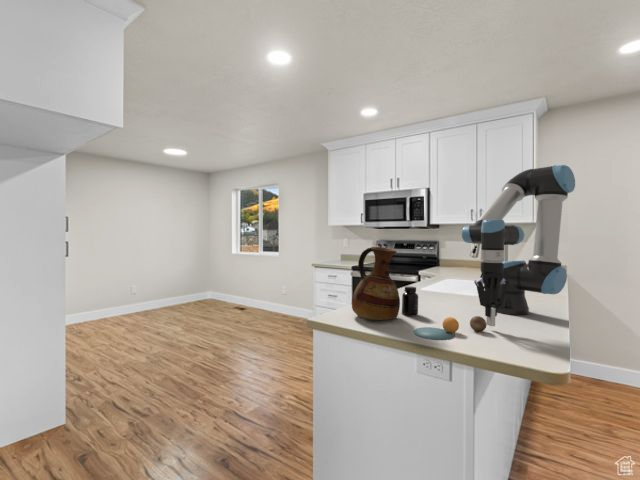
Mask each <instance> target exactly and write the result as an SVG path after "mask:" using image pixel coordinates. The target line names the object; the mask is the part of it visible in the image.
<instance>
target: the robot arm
mask: <svg viewBox="0 0 640 480" xmlns="http://www.w3.org/2000/svg"><path fill="white" fill-rule="evenodd" d="M575 188H576V178H575V174H574V171H573V170H572V169H571V168H570V166H568V165H566V164H561V165H560V164H559V165H558V164H557V165H556V164H555V165H550V166H546V167H545V166H544V167H538V168H537V167H536V168H530V169H526V170H523V171H521V172H519V173H518V174H516V175H514V176H513V177H512V178H510V179H509V180H508V181H507V182H506V183H505V184H504V185H503V187H502V188H501V193H499V195H498V196H497V197H496V198H495V199H494V201H492V203H491V204H490V205H489V206H488V208H487V209H486V210H485V211H484V212H483V213H482V215H481V216H480V217H478V219H477V220H476V221H475V223H474V224H473V225H472V224H470V225H465V226H464V227H463V228H462V230H461V238H462V241H463V242H465V243H467V244H473V245H477V244H478V245H479V244H480V245H481V246H480V247H481V249H480V260H481V262H480V272H481V274H480V276H479V279H475V280H474V282H473V283H474V284H475V286H476V289H477V294H478V295H477V296H478V299H479V300H478V301H479V304H480V306H482V307H484V312H485V313H484V315H485V316H484V317H486V326H490V327H496V317H497V316H498V313H500V314H505V315H512V316H521V315H522V316H524V315H528V314H529V313H530V307H529V306H528V302H527V298H526V295H525V294H526V291H527V292H530V293H531V292H533V293H538V294H539V293H540V294H544V295H558V294H559V293H561V292H562V291H563V289H564V287H565V286H566V282H567V278H568V274H567V269H566V268H565V267H563V266H562V261H560V259H559V258H558V254H559V246H560V245H559V244H560V234H561V233H560V232H561V224H562V223H561V222H562V214H563V213H562V212H563V211H562V210H563V202H564V201H566V200H567V199H568V196H569V194H570V193H572V192H573V191H574V190H575ZM528 196H534V199H535V200H536V201H537V210H536V211H537V212H536V222H535V223H536V224H535V233H534V244H533V255H532V257H531V258H529V259H528V262H526V261H525V260H507V261H504V260H505V259H504V258H505V246H516V245H518V244H520V243H521V242H523V241H524V238H525V232H524V230H523V229H522V227H521V226H518V225H515V224H509V225H508V224H506V223H505V220H504V218H505V217H506V215H508V213H509V212H510V211H511V210H512V208H513V207H514V206H516V204H517V203H518V202H521V201H522V200H523V199H524V198H526V197H528ZM505 224H506V225H505Z"/></svg>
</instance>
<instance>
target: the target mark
mask: <svg viewBox="0 0 640 480" xmlns="http://www.w3.org/2000/svg"><path fill="white" fill-rule="evenodd" d="M412 332H413V333H412V334H414V335H415V336H417V337H419V338H423V339H427V340H434V341H444V340H445V341H447V339H448V340H451V338H452V339H454V338H455V334H454V333H449V332H447V331H445V330H444V328H439V327H429V326H428V327H426V326H425V327H417V328H415V329H413V330H412ZM453 337H454V338H453Z"/></svg>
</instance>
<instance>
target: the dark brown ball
mask: <svg viewBox="0 0 640 480" xmlns="http://www.w3.org/2000/svg"><path fill="white" fill-rule="evenodd" d="M469 326H470V328H471V329H472V330H473V331H475V332H480V333H482V332H484V331H485V329H486V328H487V320H486V319H485V318H484V317H482V316H478V315H477V316H472V318H471V319H470V320H469Z"/></svg>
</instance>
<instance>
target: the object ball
mask: <svg viewBox="0 0 640 480" xmlns="http://www.w3.org/2000/svg"><path fill="white" fill-rule="evenodd" d="M459 327H460V324H459V321H458V320H457V319H456V317H455V318H454V317H451V316H449V317H448V316H447V317H445V319H444V320H443V321H442V329H444V330H445V331H447V332H449V333H453V334H454V333H456V332H457V331H458V330H459Z"/></svg>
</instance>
